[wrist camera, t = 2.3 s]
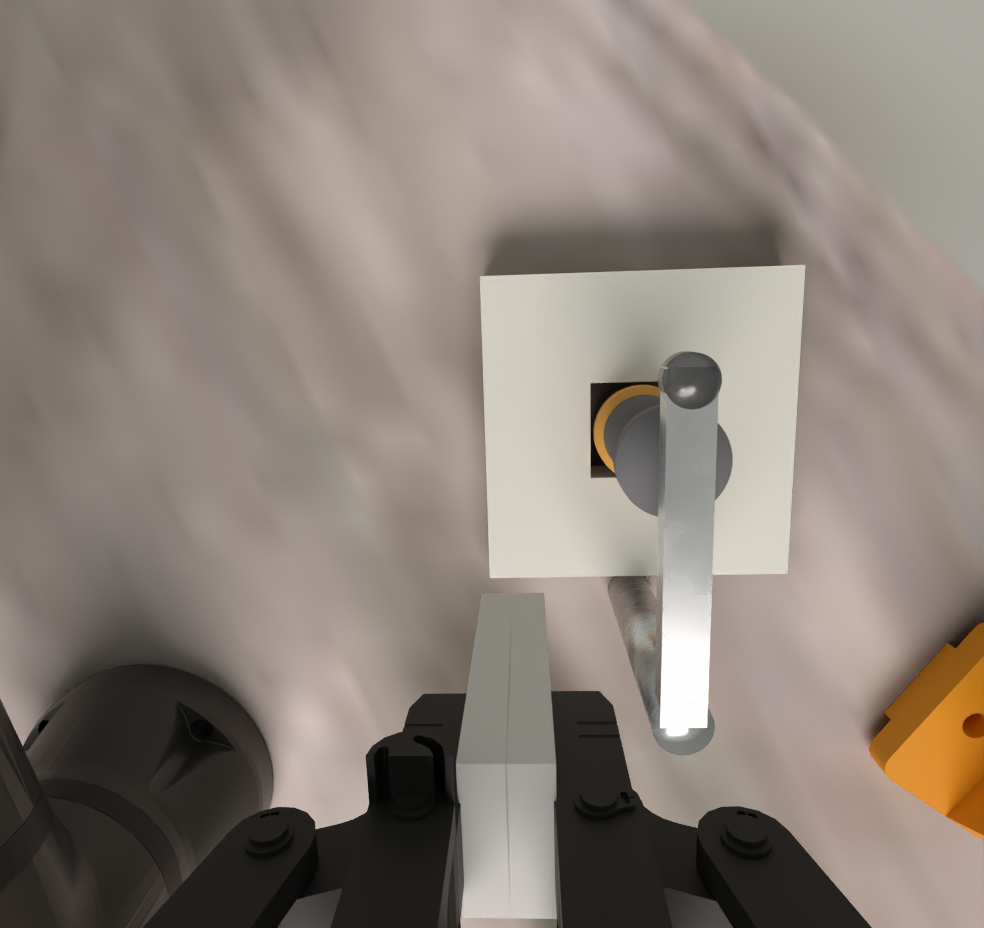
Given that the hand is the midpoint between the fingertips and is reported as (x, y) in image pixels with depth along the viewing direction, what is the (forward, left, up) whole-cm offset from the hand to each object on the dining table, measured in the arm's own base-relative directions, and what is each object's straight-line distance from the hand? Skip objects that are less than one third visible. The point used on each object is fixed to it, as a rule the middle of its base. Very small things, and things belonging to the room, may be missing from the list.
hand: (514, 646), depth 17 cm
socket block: (+6, +2, -23) cm, 24 cm away
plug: (+6, +2, -23) cm, 24 cm away
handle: (+6, -1, -23) cm, 24 cm away
